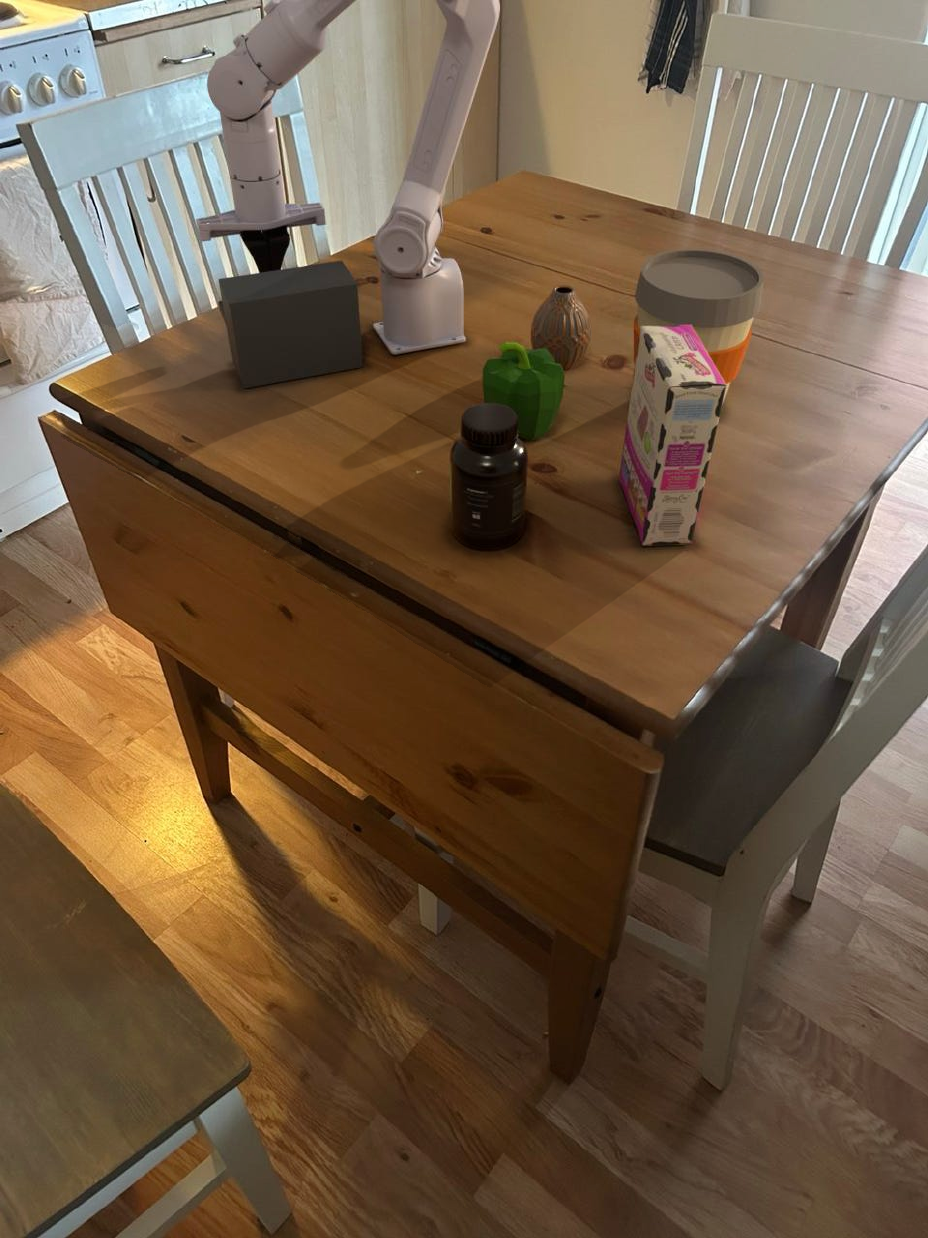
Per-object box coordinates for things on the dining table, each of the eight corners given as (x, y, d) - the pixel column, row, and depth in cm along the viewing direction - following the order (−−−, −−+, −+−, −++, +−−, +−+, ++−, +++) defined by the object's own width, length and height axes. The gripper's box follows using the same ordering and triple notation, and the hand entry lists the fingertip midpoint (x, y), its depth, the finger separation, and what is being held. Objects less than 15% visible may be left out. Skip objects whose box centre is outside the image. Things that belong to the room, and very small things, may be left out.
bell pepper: (565, 412, 104) (572, 326, 98) (555, 453, 98) (561, 365, 92) (489, 404, 106) (491, 318, 99) (475, 444, 100) (475, 356, 93)
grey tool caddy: (357, 283, 104) (331, 243, 111) (229, 303, 101) (210, 261, 108) (363, 366, 111) (338, 325, 118) (243, 388, 108) (225, 344, 115)
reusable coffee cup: (715, 448, 99) (744, 311, 89) (603, 417, 104) (618, 283, 93) (751, 394, 107) (781, 262, 97) (645, 367, 112) (664, 239, 101)
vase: (584, 378, 110) (591, 305, 104) (525, 372, 111) (528, 299, 105) (590, 350, 115) (597, 278, 109) (533, 344, 116) (537, 273, 110)
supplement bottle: (436, 536, 88) (433, 423, 80) (474, 499, 93) (476, 388, 84) (500, 561, 86) (504, 447, 78) (537, 522, 90) (544, 409, 82)
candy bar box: (695, 545, 87) (730, 384, 76) (641, 548, 87) (668, 387, 76) (666, 475, 96) (693, 320, 84) (616, 478, 95) (637, 322, 84)
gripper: (309, 154, 112) (321, 268, 121) (183, 169, 108) (205, 286, 117) (325, 173, 107) (336, 291, 116) (194, 190, 103) (216, 310, 112)
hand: (271, 290), depth 116 cm, fingers closed
